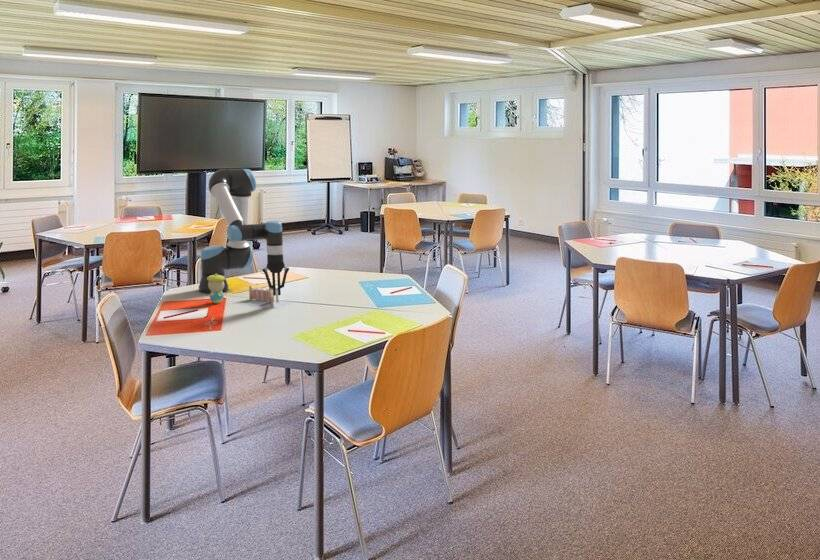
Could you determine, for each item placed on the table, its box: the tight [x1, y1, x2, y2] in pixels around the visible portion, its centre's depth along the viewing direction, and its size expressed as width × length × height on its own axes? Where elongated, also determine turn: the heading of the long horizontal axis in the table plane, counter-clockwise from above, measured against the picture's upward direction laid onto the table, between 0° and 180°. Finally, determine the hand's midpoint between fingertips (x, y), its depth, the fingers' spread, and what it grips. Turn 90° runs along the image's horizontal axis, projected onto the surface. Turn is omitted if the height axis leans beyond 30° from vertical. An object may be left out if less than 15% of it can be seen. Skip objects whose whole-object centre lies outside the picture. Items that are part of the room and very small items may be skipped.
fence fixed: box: [248, 285, 275, 302], centre depth 332 cm, size 14×2×8 cm, turn 70°
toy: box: [207, 274, 226, 305], centre depth 325 cm, size 8×9×15 cm
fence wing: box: [270, 290, 273, 307], centre depth 323 cm, size 10×1×6 cm, turn 13°
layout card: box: [242, 299, 293, 310], centre depth 327 cm, size 20×14×1 cm
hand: (277, 301), depth 322 cm, fingers closed
